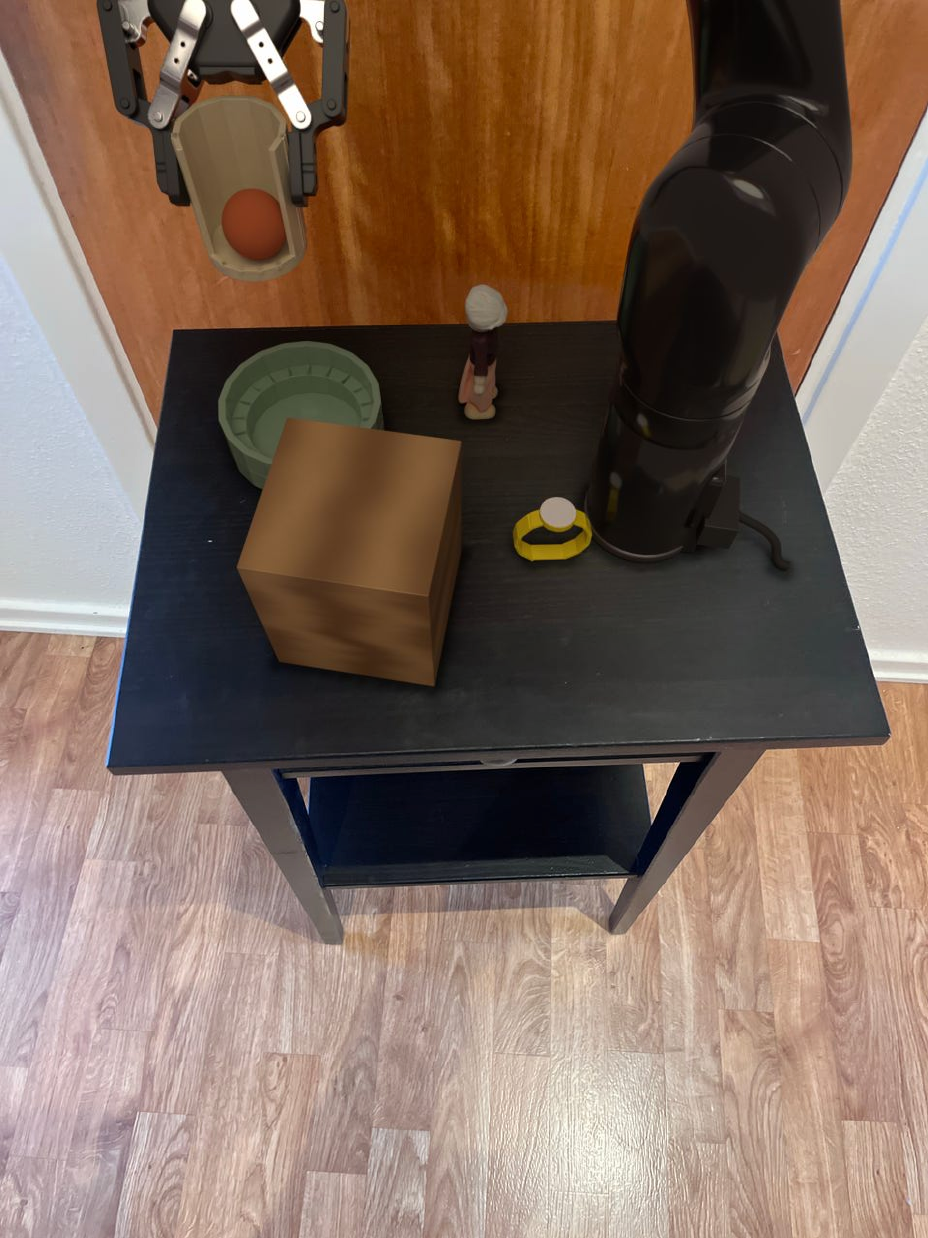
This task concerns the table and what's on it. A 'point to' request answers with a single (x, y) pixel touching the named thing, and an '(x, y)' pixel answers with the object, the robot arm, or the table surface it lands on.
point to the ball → (253, 224)
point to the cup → (238, 177)
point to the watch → (558, 519)
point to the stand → (357, 549)
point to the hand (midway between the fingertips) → (240, 204)
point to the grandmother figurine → (482, 351)
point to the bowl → (293, 399)
